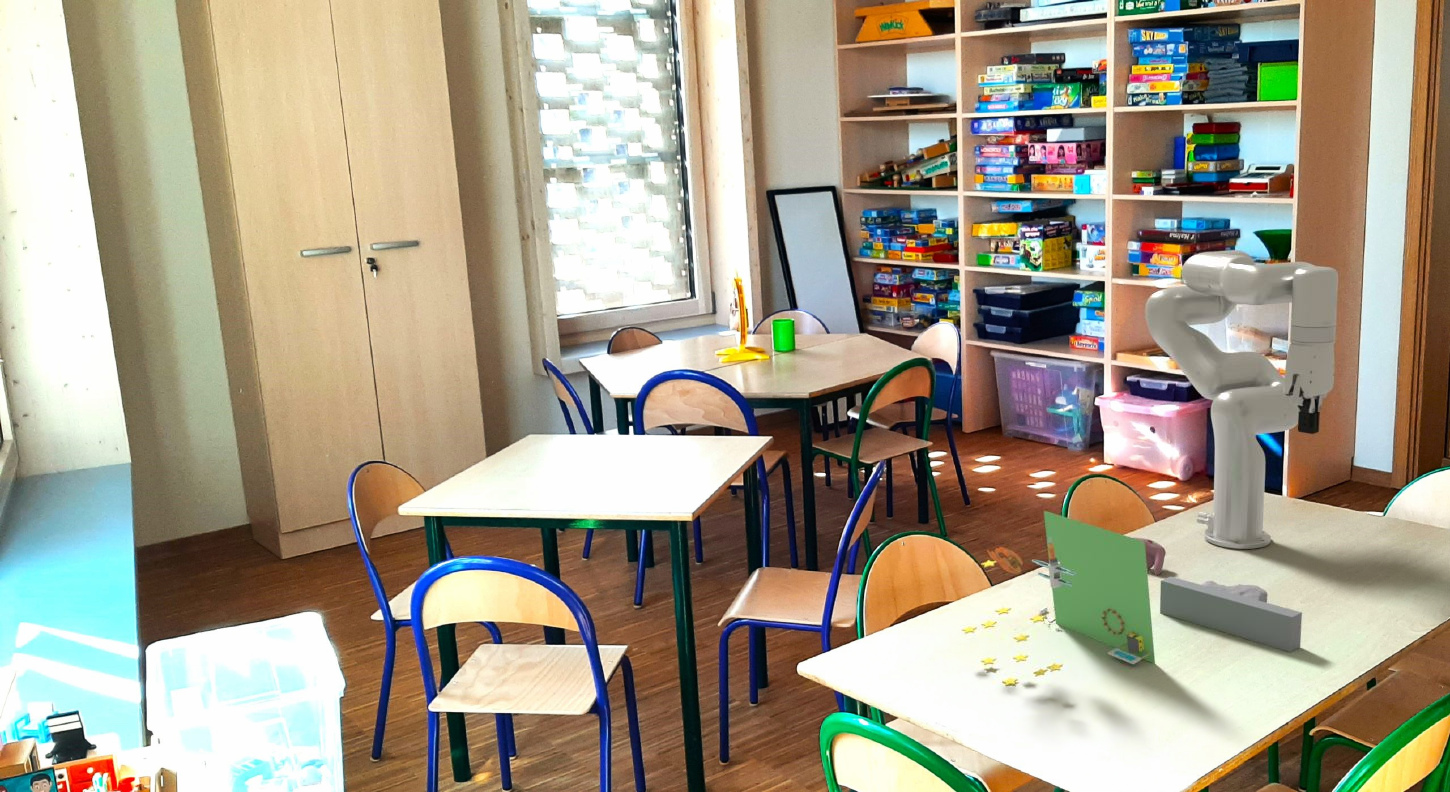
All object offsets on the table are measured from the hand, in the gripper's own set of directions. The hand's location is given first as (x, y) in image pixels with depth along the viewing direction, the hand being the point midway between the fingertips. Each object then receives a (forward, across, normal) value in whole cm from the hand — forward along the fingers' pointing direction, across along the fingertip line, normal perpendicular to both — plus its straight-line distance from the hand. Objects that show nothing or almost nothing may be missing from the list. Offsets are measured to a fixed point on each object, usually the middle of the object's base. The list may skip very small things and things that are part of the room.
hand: (1308, 431), depth 234 cm
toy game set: (+27, +67, -6) cm, 73 cm away
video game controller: (+27, +20, -22) cm, 41 cm away
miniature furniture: (+28, +44, -18) cm, 55 cm away
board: (+27, +36, +6) cm, 45 cm away
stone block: (+28, +28, +2) cm, 39 cm away
